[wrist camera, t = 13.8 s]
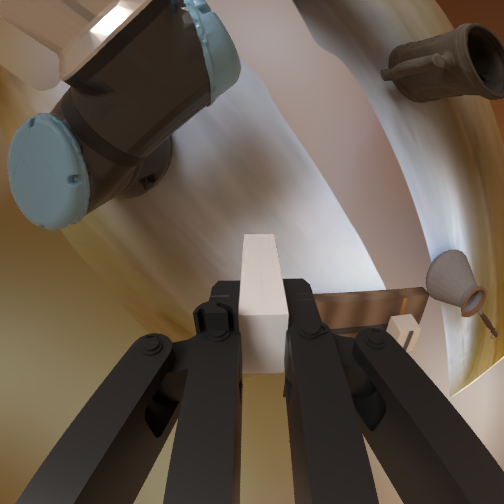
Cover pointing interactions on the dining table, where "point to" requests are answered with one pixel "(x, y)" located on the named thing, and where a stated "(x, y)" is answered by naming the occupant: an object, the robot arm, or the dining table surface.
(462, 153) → the dining table surface
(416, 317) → the fader panel
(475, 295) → the coffee pot
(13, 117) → the dining table surface
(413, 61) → the beer stein
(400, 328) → the fader knob
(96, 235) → the dining table surface
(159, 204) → the dining table surface
